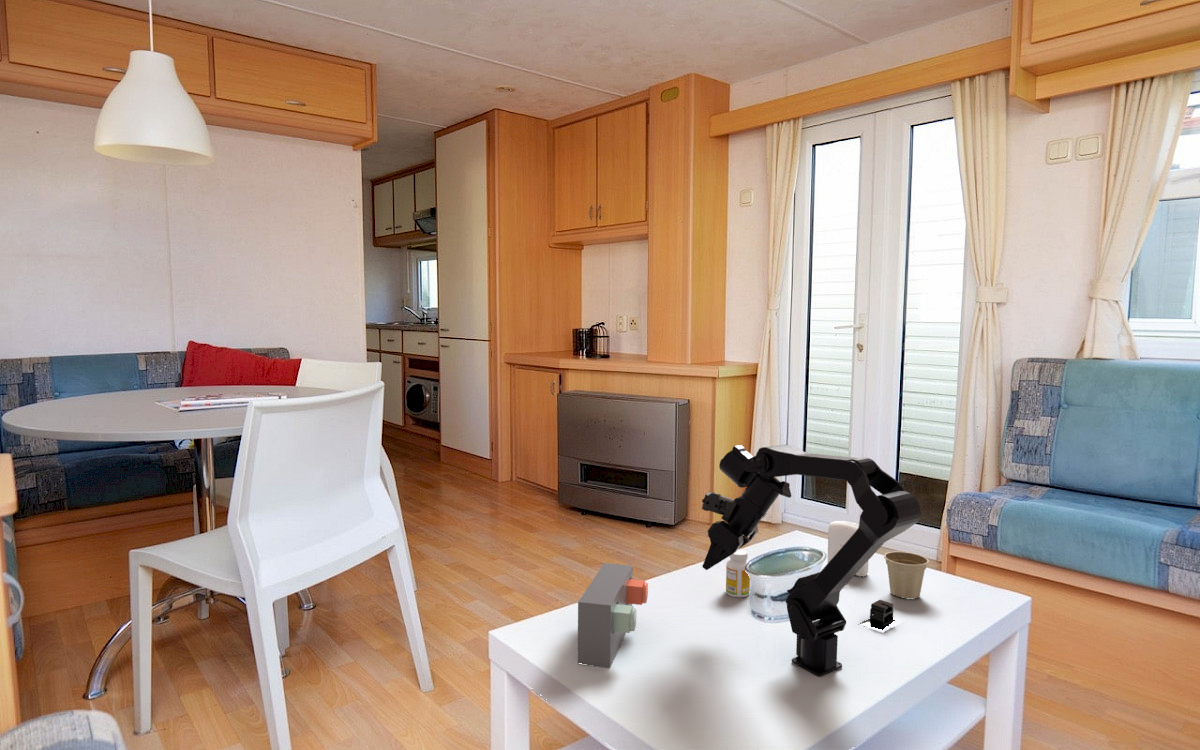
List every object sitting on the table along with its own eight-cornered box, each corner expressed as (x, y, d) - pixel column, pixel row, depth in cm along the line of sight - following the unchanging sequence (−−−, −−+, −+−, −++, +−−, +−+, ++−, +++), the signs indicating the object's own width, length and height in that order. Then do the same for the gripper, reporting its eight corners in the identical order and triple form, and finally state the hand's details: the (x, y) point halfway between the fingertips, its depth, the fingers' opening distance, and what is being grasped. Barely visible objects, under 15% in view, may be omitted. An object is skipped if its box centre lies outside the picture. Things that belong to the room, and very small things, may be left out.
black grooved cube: (882, 640, 138) (883, 617, 138) (848, 628, 144) (849, 606, 143) (911, 622, 147) (912, 600, 146) (878, 611, 152) (879, 590, 152)
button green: (636, 625, 129) (636, 604, 129) (632, 635, 125) (632, 613, 125) (612, 623, 130) (612, 602, 130) (607, 632, 126) (607, 610, 126)
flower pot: (873, 589, 163) (875, 553, 163) (906, 585, 166) (908, 549, 165) (902, 605, 154) (903, 566, 154) (936, 600, 157) (938, 562, 156)
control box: (631, 619, 145) (632, 565, 144) (610, 668, 125) (610, 605, 124) (603, 616, 146) (604, 563, 146) (577, 664, 126) (578, 602, 125)
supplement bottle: (748, 589, 162) (749, 548, 162) (751, 598, 157) (752, 556, 156) (724, 588, 163) (725, 547, 162) (726, 597, 157) (727, 555, 157)
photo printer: (824, 566, 178) (826, 519, 177) (834, 563, 181) (836, 516, 180) (860, 578, 170) (862, 528, 169) (870, 575, 173) (872, 525, 172)
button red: (647, 598, 142) (648, 579, 142) (644, 606, 138) (644, 586, 138) (625, 596, 143) (625, 577, 143) (621, 604, 139) (622, 584, 139)
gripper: (732, 473, 148) (691, 531, 151) (709, 479, 131) (664, 545, 134) (776, 506, 144) (733, 565, 147) (759, 517, 127) (710, 584, 129)
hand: (710, 564), depth 139 cm, fingers open, 9 cm apart
